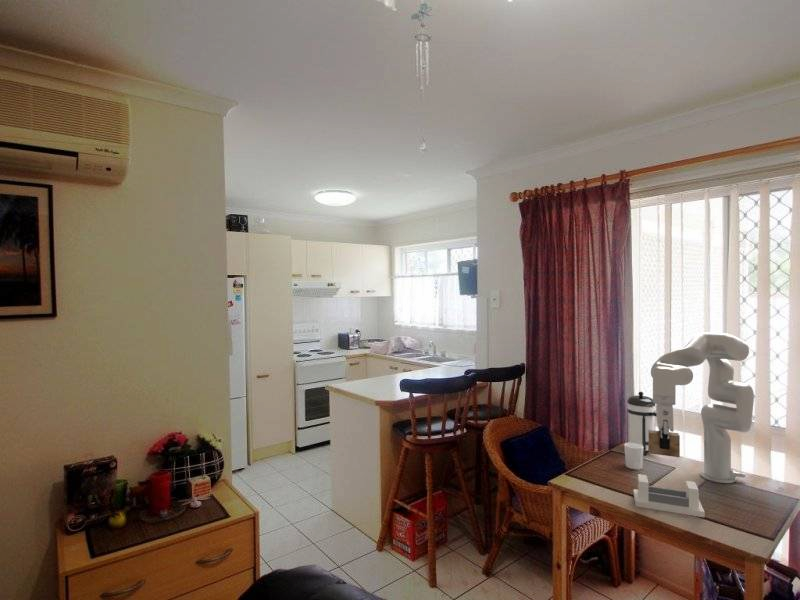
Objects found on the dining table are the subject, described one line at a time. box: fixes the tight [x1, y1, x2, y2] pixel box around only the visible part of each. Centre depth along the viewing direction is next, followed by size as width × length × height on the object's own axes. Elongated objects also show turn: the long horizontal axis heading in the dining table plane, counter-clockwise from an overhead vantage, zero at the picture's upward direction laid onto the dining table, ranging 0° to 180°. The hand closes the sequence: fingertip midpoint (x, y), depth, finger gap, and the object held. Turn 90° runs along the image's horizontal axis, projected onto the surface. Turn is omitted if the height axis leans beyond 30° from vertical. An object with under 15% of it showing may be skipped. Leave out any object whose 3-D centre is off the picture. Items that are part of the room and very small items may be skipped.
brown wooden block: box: [648, 430, 681, 458], centre depth 171 cm, size 10×4×8 cm, turn 65°
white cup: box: [623, 442, 644, 470], centre depth 206 cm, size 8×8×10 cm
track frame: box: [633, 473, 706, 518], centre depth 169 cm, size 22×11×9 cm, turn 66°
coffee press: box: [626, 391, 656, 456], centre depth 225 cm, size 17×16×30 cm
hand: (663, 446), depth 171 cm, fingers closed on brown wooden block, 4 cm apart
